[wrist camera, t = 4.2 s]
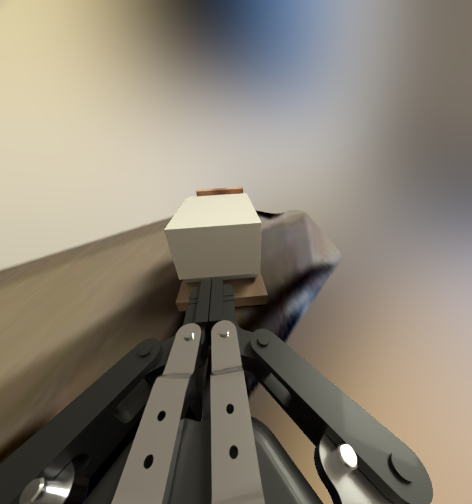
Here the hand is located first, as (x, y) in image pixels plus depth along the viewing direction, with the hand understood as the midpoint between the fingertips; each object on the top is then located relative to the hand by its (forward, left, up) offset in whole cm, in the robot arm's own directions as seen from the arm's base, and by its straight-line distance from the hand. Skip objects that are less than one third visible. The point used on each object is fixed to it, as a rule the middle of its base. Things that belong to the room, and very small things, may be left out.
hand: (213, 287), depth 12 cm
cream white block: (-2, +11, -6) cm, 13 cm away
